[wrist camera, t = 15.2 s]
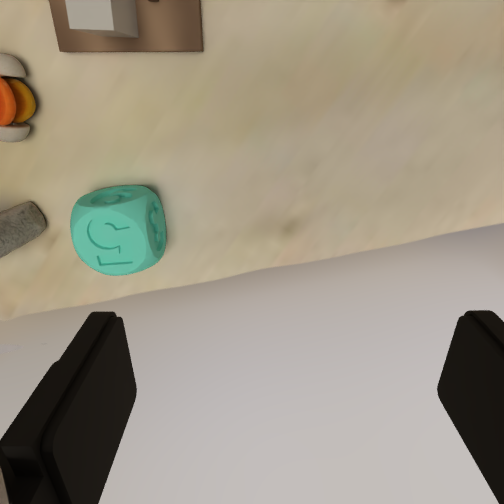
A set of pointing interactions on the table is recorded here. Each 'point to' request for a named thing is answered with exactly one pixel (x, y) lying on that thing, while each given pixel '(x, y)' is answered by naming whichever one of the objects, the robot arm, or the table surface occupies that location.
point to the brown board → (139, 29)
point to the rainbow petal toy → (14, 101)
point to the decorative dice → (119, 229)
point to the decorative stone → (19, 226)
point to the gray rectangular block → (103, 17)
